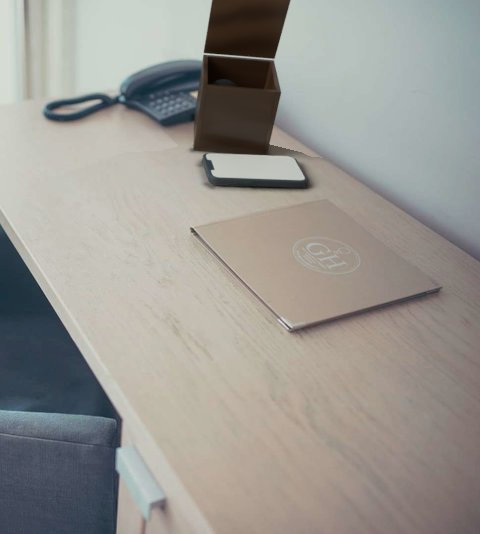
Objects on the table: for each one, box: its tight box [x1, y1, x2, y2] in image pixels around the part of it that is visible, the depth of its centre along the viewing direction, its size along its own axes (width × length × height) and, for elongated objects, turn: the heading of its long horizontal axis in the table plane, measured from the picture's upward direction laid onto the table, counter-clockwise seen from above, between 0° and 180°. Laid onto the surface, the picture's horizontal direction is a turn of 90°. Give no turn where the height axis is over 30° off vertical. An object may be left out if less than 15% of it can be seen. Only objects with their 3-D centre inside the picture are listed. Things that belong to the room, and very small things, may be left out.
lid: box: [203, 0, 291, 60], centre depth 112 cm, size 15×13×9 cm
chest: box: [192, 54, 282, 155], centre depth 114 cm, size 15×13×12 cm
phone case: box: [201, 152, 308, 189], centre depth 106 cm, size 9×2×16 cm
